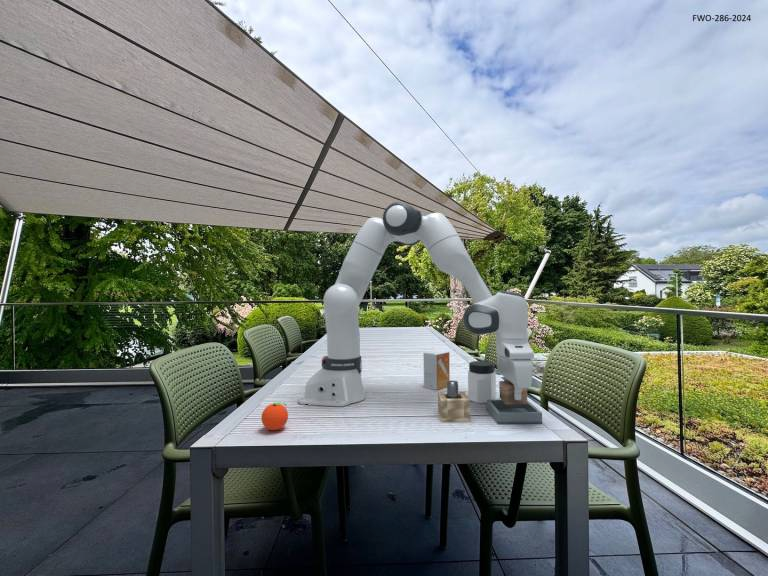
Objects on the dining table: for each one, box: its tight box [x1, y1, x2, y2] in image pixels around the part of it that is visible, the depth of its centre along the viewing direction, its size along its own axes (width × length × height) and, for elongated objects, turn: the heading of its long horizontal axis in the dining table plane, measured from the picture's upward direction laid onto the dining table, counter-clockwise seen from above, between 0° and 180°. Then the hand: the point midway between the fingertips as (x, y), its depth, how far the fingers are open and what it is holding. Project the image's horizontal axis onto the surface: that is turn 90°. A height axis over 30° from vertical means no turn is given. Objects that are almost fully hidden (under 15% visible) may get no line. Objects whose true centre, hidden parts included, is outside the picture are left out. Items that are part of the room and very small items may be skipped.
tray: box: [486, 399, 543, 425], centre depth 108 cm, size 12×12×3 cm
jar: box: [467, 360, 497, 404], centre depth 124 cm, size 9×8×12 cm
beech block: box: [437, 391, 471, 423], centre depth 109 cm, size 8×8×6 cm
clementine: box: [261, 402, 289, 431], centre depth 102 cm, size 8×7×7 cm
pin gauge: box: [446, 379, 459, 399], centre depth 109 cm, size 3×3×9 cm
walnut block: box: [498, 380, 528, 404], centre depth 108 cm, size 6×6×5 cm
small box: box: [423, 349, 451, 391], centre depth 141 cm, size 8×6×13 cm
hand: (512, 395), depth 108 cm, fingers closed on walnut block, 6 cm apart
